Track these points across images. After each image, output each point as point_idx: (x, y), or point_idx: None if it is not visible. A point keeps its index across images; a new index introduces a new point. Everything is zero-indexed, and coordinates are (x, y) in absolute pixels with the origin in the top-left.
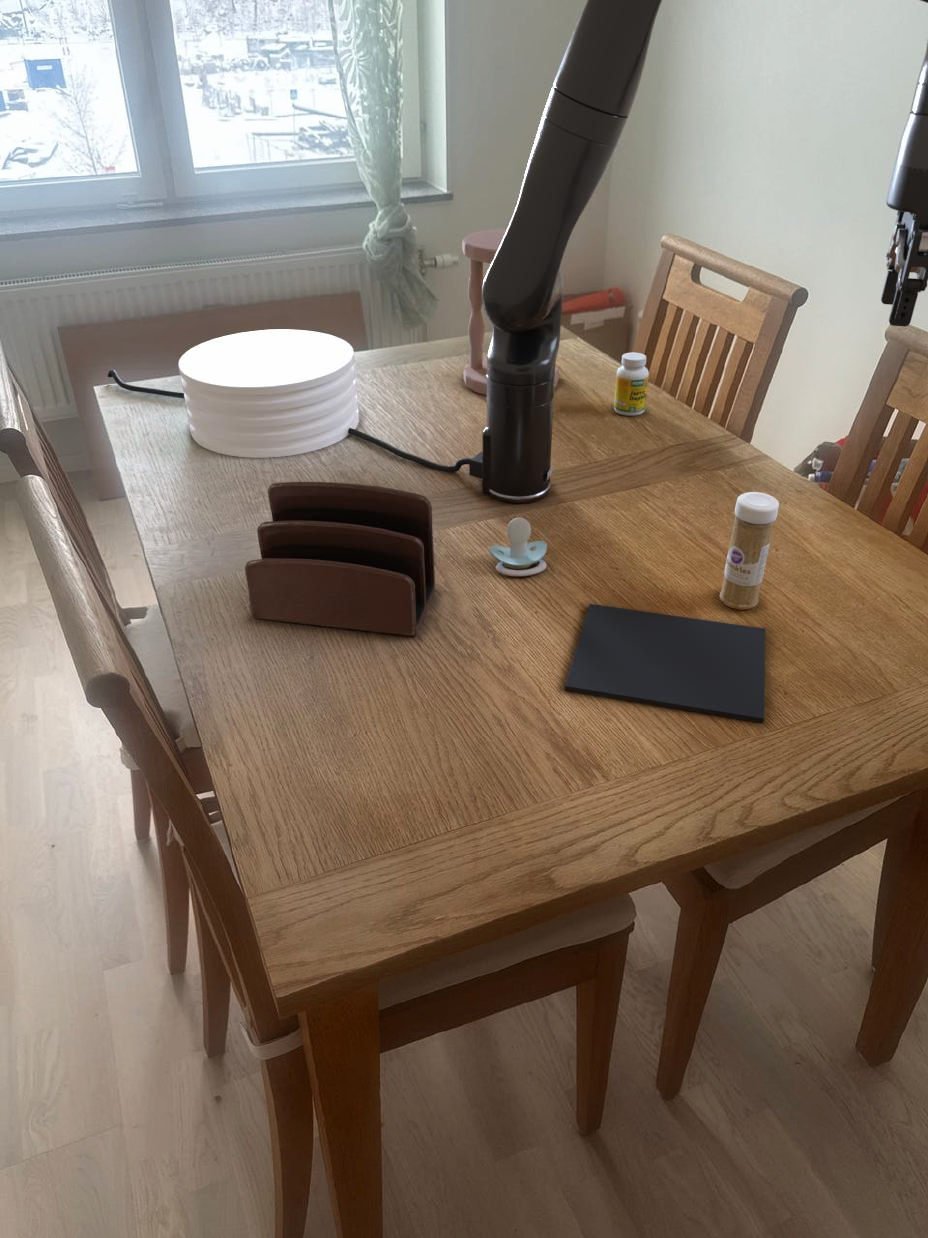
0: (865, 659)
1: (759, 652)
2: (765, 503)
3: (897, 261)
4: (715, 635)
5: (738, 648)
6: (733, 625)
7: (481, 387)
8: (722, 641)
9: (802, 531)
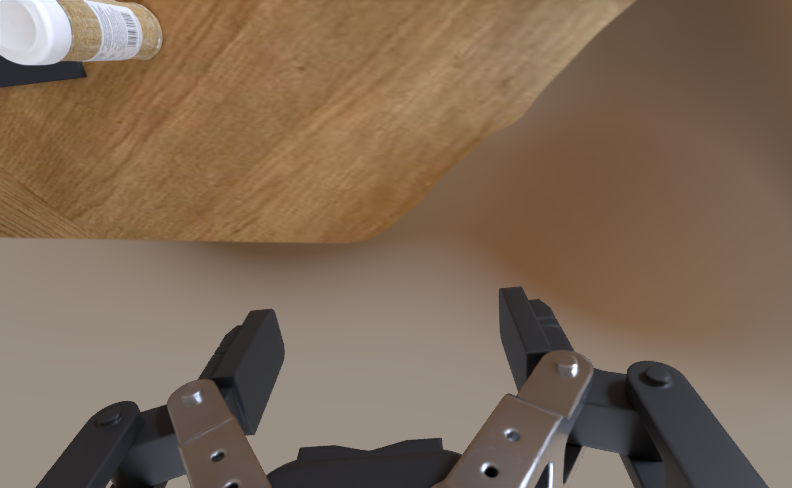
0: (107, 191)
1: (28, 76)
2: (6, 39)
3: (182, 453)
4: None
5: None
6: None
7: None
8: None
9: (371, 100)
